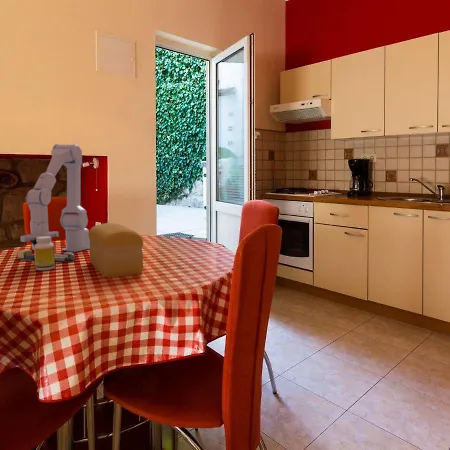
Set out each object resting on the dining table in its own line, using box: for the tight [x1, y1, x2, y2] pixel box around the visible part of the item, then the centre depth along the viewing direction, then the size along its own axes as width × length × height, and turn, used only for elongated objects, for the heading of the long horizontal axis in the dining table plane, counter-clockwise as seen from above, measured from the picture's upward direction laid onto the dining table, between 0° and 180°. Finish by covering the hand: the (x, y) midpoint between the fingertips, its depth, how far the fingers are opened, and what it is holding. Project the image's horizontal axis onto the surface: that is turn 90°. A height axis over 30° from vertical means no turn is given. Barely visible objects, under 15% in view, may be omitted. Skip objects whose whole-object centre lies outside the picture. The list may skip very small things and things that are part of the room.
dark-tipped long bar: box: [54, 252, 76, 263], centre depth 153 cm, size 3×18×2 cm, turn 61°
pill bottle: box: [33, 236, 56, 271], centre depth 136 cm, size 6×6×11 cm
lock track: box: [17, 257, 35, 262], centre depth 151 cm, size 4×8×1 cm, turn 62°
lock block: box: [17, 248, 33, 258], centre depth 152 cm, size 4×4×2 cm
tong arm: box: [25, 251, 74, 262], centre depth 149 cm, size 3×17×3 cm, turn 82°
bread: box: [88, 222, 144, 279], centre depth 138 cm, size 24×13×15 cm, turn 30°
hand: (41, 258), depth 148 cm, fingers closed, pressing on tong arm
